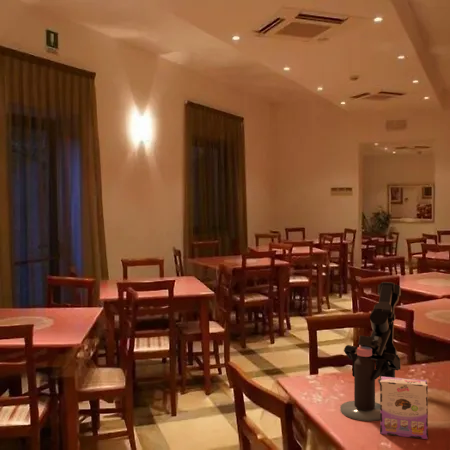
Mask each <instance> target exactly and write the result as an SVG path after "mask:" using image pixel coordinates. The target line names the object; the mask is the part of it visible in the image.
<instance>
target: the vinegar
mask: <svg viewBox="0 0 450 450" xmlns="http://www.w3.org/2000/svg"><path fill="white" fill-rule="evenodd" d="M357 356H358V359H357V360H356V361H355V363H354V380H353V381H354V382H353V383H354V385H353V386H354V389H353V390H354V392H353V393H354V394H353V395H354V396H353V397H354V400H353V401H354V405H355V407H356V408H358V409H361V410H372V409H374V408H375V402H376V380H374V381H372V380H371V379H372V375H373V373H374V371H375V368H376V362H374V360H372V359H371V357H372V348H370V347H362V346H357Z"/></svg>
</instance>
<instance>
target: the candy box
mask: <svg viewBox="0 0 450 450" xmlns="http://www.w3.org/2000/svg"><path fill="white" fill-rule="evenodd" d="M379 397H380V398H379V399H380V401H379V404H380V420H379V422H380V429H379V434H380V435H388V436H393V437H394V436H396V437H405V438H411V439H414V438H415V439H422V440H428V438H429V423H428V422H429V421H428V420H429V419H428V417H429V415H428V413H429V410H428V409H429V408H428V407H429V406H428V403H429V402H428V401H429V398H428V397H429V396H428V381H427V379H417V378H403V377H395V378H394V377H383V376H381V380H380V384H379Z"/></svg>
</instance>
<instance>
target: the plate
mask: <svg viewBox="0 0 450 450" xmlns="http://www.w3.org/2000/svg"><path fill="white" fill-rule="evenodd" d="M339 411H340V413H341V414H342V415H343V416H345V417H347V418H349V419H353V420H357V421H362V422H380V402H379V403H378V402H376V401H375V408H374V409H372V410H361V409H358V408H356V407H355V405H354V400H348V401H346V402H343V403H341V405H340V409H339Z"/></svg>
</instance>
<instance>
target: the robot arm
mask: <svg viewBox="0 0 450 450" xmlns="http://www.w3.org/2000/svg"><path fill="white" fill-rule="evenodd" d="M377 295H378V296H379V299H378V302H377V303H376V304H374V305H373V310H371V312H370V315H369V321H370V324H371V329H372V331H371V334H370V336H369V335H368V336H365V335H359V338H358V342H357V345H358V346H360V347H370V348H372V357H371V360H372V361H375V371H374V373H373V375H372V379H371V380H372V381H374V380H375V381H376V380H377V382H378V384H379V385H380V380H381V376H383V377H394V378H396V371H401V358H400V356H399V354H398V350H397V349H396V346H395V345H394V331H395V328H394V327H395V320H396V314H395V307H396V305H397V304H398V303H399V300H400V297H401V295H402V293H401V286H400V285H398V284H395V282H391V281H389V282H388V281H382V282H380V284H377ZM358 346H355V345H350V344H348V345H345V346H344V349H343V352H344V353H345V355H346V357H347V358H348V359H349V360H351V361H352V371H351V372H352V376H353V377H354V363H355V361H356V360H357V359H358V356H357V348H358Z"/></svg>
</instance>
